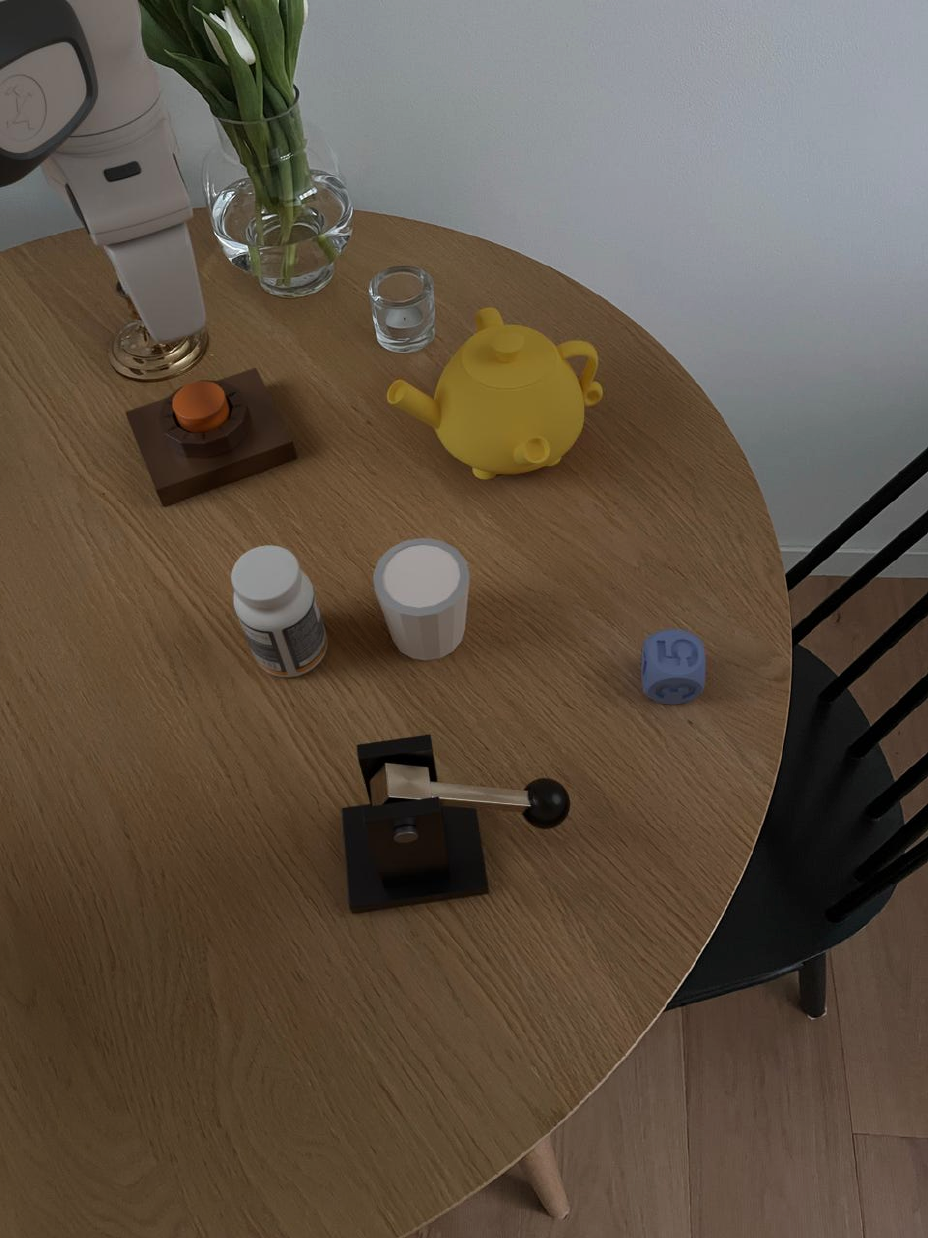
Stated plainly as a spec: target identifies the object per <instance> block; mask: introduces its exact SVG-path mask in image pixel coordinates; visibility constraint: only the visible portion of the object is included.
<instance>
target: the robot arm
mask: <svg viewBox="0 0 928 1238" xmlns="http://www.w3.org/2000/svg"><path fill="white" fill-rule="evenodd" d="M175 134H176V133H175V130H174V127H173V123H172V119H171V116H170V112H169V108H168V105H167V100H166V97H165V94H164V91H163V87H162V82H161V79H160V76H159V74H158V71H157V69H156V68H155V66H154V65H153V63H152V61H151V59H150V58H149V56H148V54H147V52H146V50H145V46H144V43H143V35H142V14H141V9H140V4H139V0H0V188H4V187H8V186H10V185H13V184H15V183H17V182H19V181H20V180H22V179H24V178H25V177H27V175H29V174H31V173H32V172H34V170H36V169H37V168H38V167H40V169H41V171H42V174H43V176H44V179H45V182H46V184H47V185H48V187H49V188H50V189H51V190H52V191H54V192H55V193H56V194H57V195H59V197H60V198H61V199H62V200H63V201H64V202H65V203H66V204H67V206H69V208H71V210H73V212H74V213H75V214H76V216H77V218H78V219H79V221H80V222H81V224H82V226H83V227H84V229H85V231H86V234H87V235H89V236H90V238H91V239H92V242H93V244H94V245H95V246H96V247H103V249H104V251H105V252H106V254H107V256H108V258H109V260H110V261H111V263H112V265H113V267H114V269H115V271H116V273H117V274H118V276H119V278H120V280H121V283H122V284H123V286H124V288H125V291H126V292H127V294H128V296H129V298H130V301H131V302H132V305H133V306H134V307H135V309H136V311H137V314H138V316H139V318H140V319H141V321H142V323H143V325H144V327H145V329H146V330H147V333H148V334H149V335H150V337H151V338H152V339H153V341H154V342H156V344H159V345H167V344H170V343H173V342H177V341H180V340H183V339H186V338H189V337H191V336H195V335H198V334H199V333H201V332H203V331H204V329H205V328H206V321H207V315H206V307H205V302H204V296H203V291H202V287H201V281H200V277H199V271H198V268H197V261H196V258H195V252H194V248H193V243H192V240H191V236H190V232H189V228H188V225H187V222H188V221H190V220H192V219H193V218H194V210H193V205H192V203H191V200H190V195H189V192H188V189H187V186H186V183H185V180H184V177H183V175H182V172H181V161H180V160H181V159H180V147H179V144H178V140H177V138H176V135H175Z"/></svg>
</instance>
